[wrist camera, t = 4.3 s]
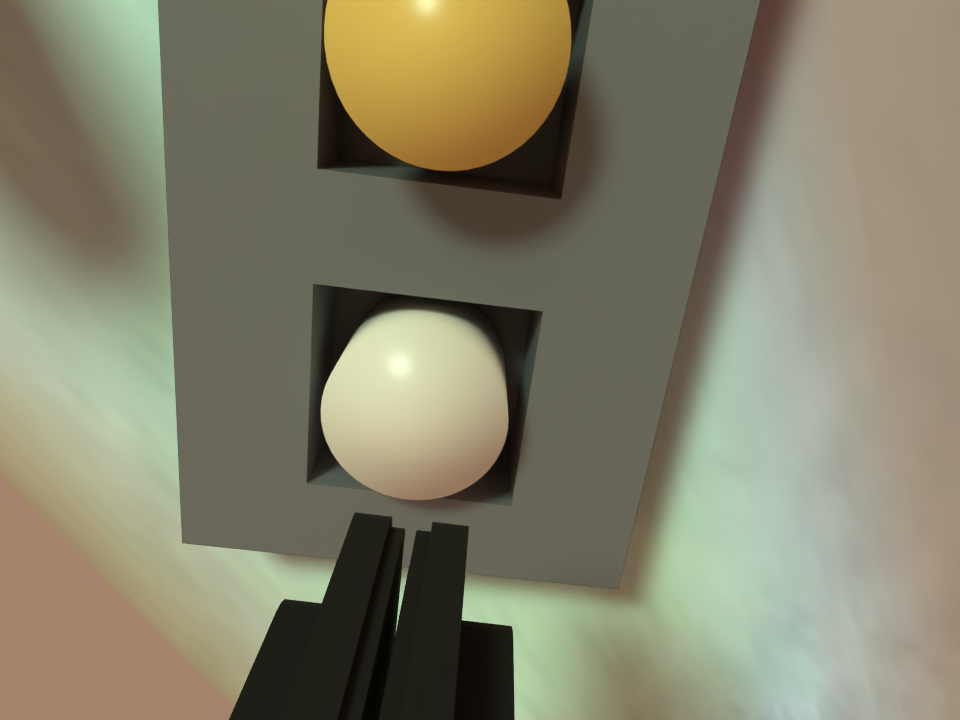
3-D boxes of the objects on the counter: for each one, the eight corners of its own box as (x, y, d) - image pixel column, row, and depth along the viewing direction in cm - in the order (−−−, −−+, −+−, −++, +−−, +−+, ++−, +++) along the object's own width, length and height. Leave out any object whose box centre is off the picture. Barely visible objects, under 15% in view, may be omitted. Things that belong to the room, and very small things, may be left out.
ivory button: (515, 300, 18) (521, 343, 15) (494, 443, 20) (495, 509, 17) (352, 280, 18) (324, 319, 15) (344, 426, 20) (317, 489, 17)
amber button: (569, -44, 15) (591, -83, 11) (537, 167, 16) (550, 184, 13) (363, -73, 14) (329, -120, 11) (352, 144, 16) (319, 155, 13)
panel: (867, -679, 12) (979, -906, 9) (601, 525, 22) (618, 589, 19) (199, -794, 12) (110, -1068, 9) (222, 484, 21) (182, 543, 18)
